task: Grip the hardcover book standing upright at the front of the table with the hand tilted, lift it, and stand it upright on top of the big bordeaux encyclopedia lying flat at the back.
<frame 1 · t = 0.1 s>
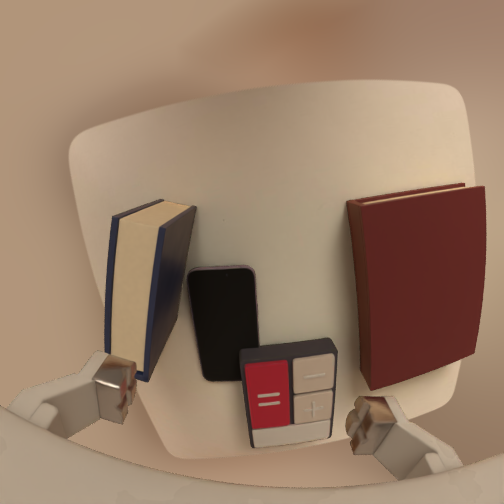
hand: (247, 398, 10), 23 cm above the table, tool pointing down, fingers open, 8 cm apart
encyclopedia: (416, 281, 34), on the table
calculator: (287, 388, 37), on the table, touching smartphone
hardcover book: (168, 261, 33), on the table
smartphone: (226, 326, 35), on the table, touching calculator
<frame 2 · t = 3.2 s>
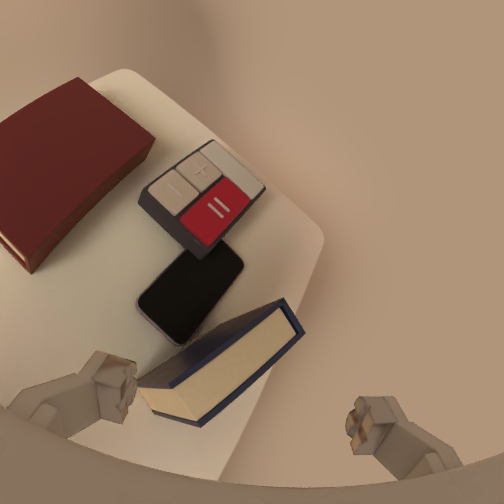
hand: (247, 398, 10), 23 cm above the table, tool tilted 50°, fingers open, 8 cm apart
encyclopedia: (50, 169, 31), on the table
calculator: (200, 202, 42), on the table, touching smartphone
hardcover book: (188, 367, 32), on the table
smartphone: (192, 284, 37), on the table, touching calculator
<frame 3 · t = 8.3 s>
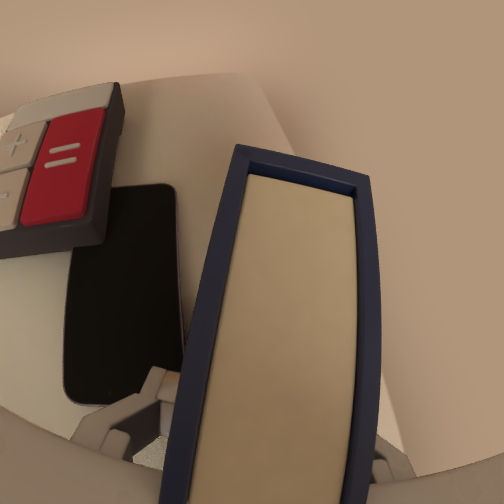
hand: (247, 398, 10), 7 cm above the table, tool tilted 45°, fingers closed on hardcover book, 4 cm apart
calculator: (57, 177, 21), on the table, touching smartphone
hardcover book: (230, 413, 15), on the table, touching gripper
smartphone: (124, 286, 18), on the table, touching calculator
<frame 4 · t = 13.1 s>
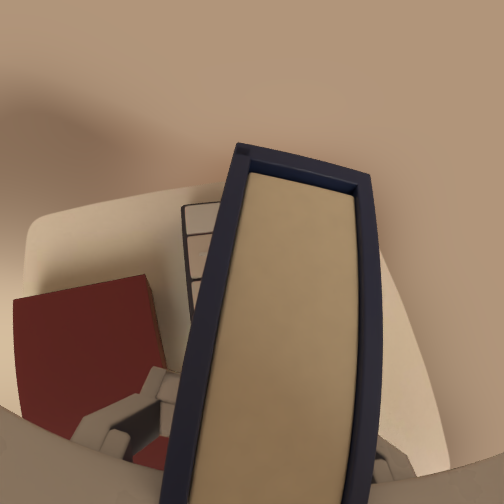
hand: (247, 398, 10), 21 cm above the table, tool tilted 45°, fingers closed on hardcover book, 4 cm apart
encyclopedia: (100, 398, 27), on the table
calculator: (234, 271, 36), on the table, touching smartphone
hardcover book: (231, 412, 15), point 15 cm above the table, touching gripper
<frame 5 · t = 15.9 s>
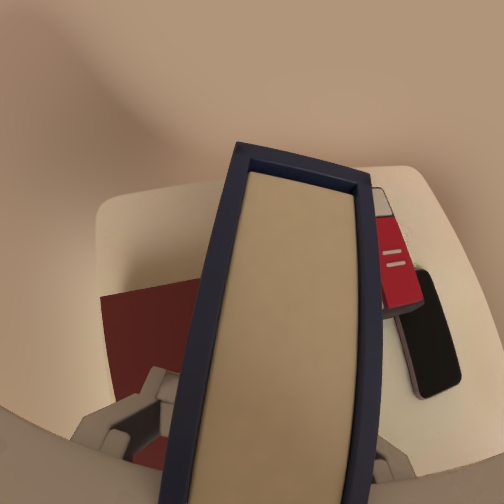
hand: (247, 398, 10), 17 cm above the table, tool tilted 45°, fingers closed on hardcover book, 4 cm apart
encyclopedia: (223, 411, 24), on the table
calculator: (352, 260, 34), on the table, touching smartphone
hardcover book: (231, 412, 15), point 10 cm above the table, touching gripper
smartphone: (421, 332, 31), on the table, touching calculator
when the fingers open (11 cm above the table, at t = 18.0 s): hardcover book stays where it is, resting on encyclopedia.
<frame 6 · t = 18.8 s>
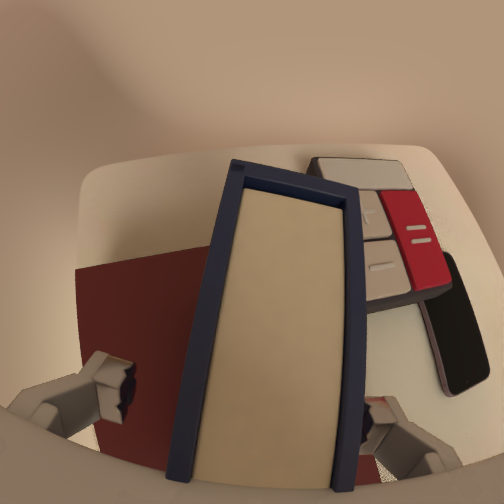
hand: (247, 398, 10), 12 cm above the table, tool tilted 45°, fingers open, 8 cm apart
encyclopedia: (222, 413, 20), on the table, touching hardcover book
calculator: (370, 238, 29), on the table, touching smartphone
hardcover book: (228, 412, 16), point 5 cm above the table, touching encyclopedia
smartphone: (446, 321, 26), on the table, touching calculator
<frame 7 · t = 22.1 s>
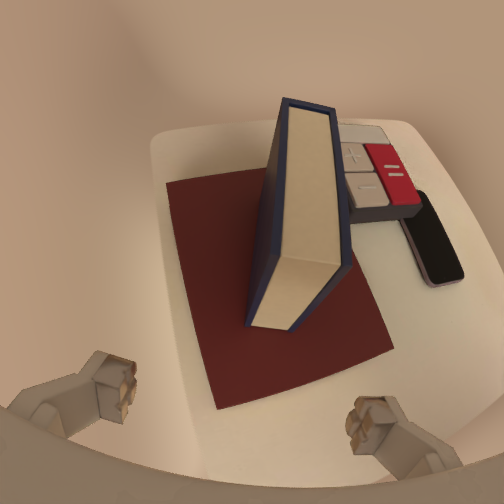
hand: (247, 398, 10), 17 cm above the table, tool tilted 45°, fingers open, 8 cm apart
encyclopedia: (266, 281, 31), on the table, touching hardcover book
calculator: (361, 178, 41), on the table, touching smartphone
hardcover book: (275, 259, 28), point 4 cm above the table, touching encyclopedia
smartphone: (424, 237, 37), on the table, touching calculator
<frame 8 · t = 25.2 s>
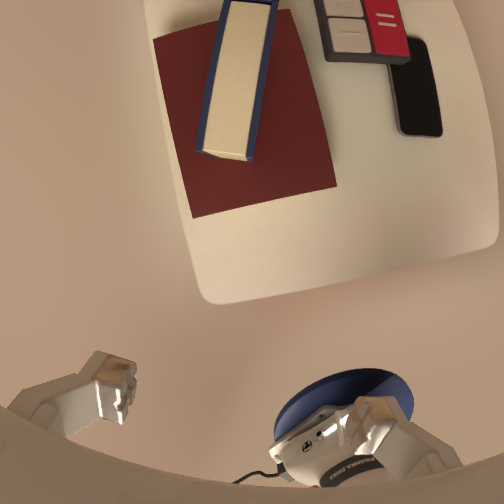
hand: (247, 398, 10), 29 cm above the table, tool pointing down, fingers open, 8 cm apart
encyclopedia: (243, 110, 34), on the table, touching hardcover book
calculator: (355, 17, 30), on the table, touching smartphone
hardcover book: (242, 101, 30), point 4 cm above the table, touching encyclopedia
smartphone: (411, 84, 33), on the table, touching calculator
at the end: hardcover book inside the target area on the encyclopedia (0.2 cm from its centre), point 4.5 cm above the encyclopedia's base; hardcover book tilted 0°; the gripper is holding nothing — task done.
